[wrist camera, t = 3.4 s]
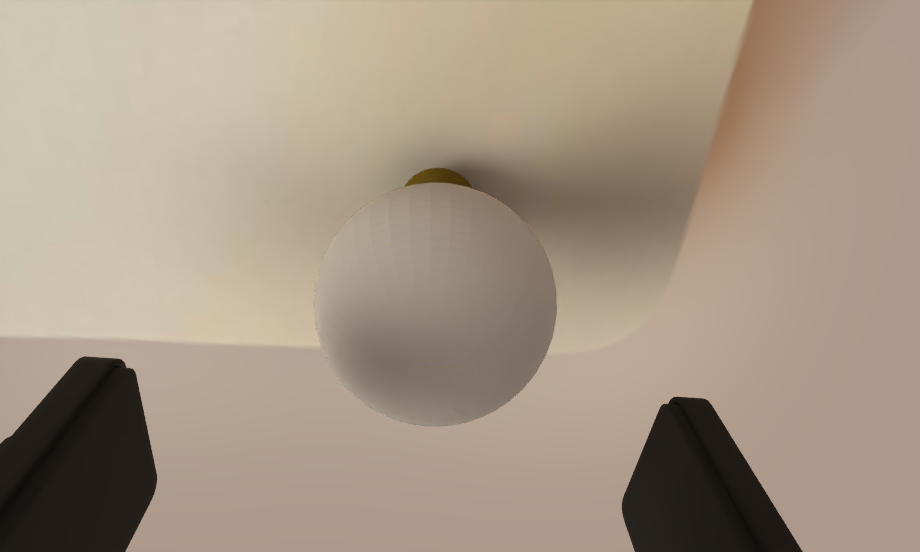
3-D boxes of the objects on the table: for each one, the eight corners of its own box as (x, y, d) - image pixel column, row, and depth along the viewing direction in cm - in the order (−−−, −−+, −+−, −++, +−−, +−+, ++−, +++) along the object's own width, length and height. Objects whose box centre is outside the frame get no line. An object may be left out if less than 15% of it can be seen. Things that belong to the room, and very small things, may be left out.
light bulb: (326, 146, 19) (229, 312, 10) (491, 86, 18) (536, 212, 9) (394, 285, 22) (362, 507, 13) (539, 239, 21) (607, 443, 12)
